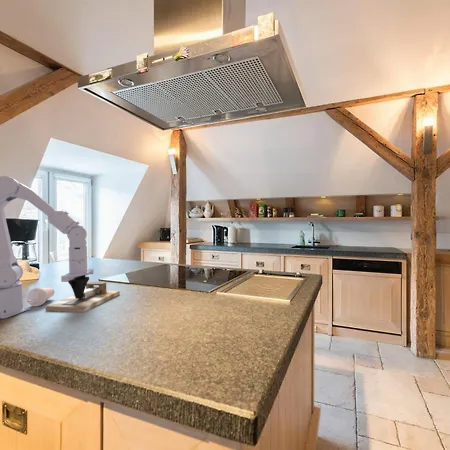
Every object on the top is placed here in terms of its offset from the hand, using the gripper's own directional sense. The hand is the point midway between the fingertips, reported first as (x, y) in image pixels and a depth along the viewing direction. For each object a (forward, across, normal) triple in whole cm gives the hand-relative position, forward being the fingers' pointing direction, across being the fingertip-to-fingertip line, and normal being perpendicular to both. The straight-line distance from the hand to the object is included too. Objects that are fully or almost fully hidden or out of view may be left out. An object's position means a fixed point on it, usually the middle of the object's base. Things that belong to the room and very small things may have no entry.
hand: (79, 298), depth 104 cm
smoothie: (0, +6, +17) cm, 18 cm away
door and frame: (+2, +4, 0) cm, 4 cm away
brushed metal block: (0, +6, 0) cm, 6 cm away
